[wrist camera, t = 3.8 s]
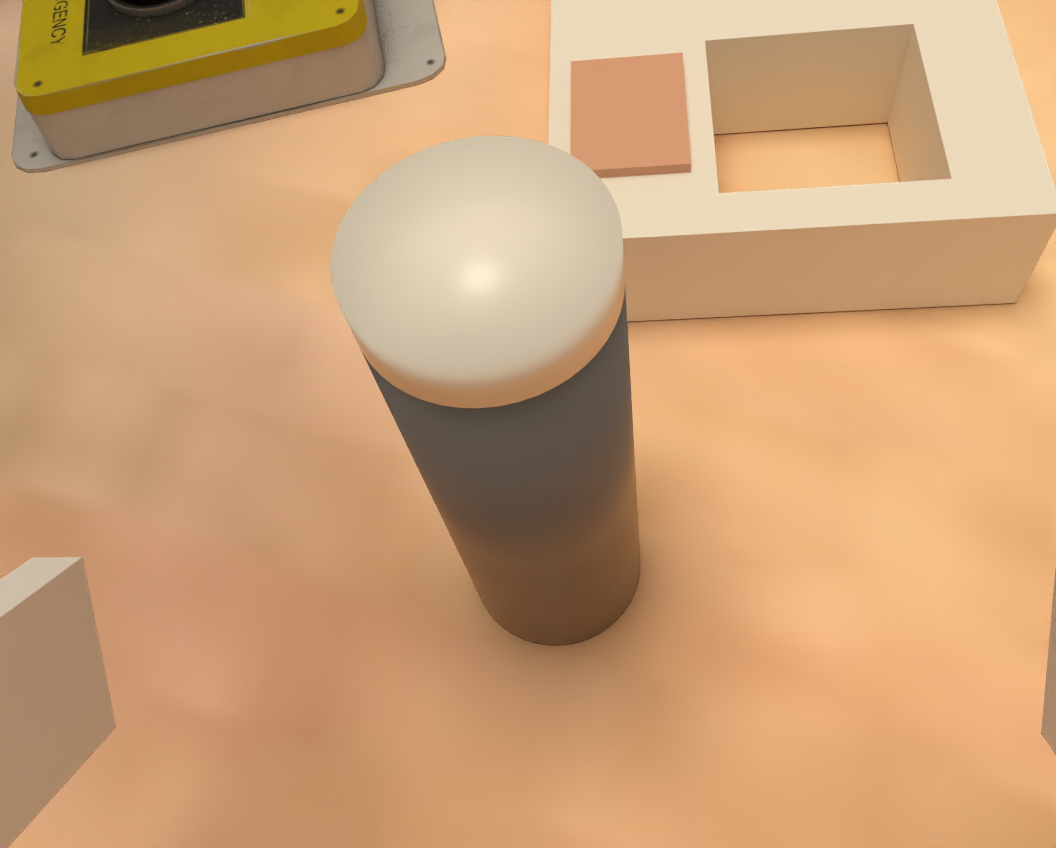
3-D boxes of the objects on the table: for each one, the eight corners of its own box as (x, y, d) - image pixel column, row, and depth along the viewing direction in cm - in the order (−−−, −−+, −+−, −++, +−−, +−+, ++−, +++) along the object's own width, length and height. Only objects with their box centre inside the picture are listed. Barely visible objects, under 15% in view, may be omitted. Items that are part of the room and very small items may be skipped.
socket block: (559, 324, 27) (545, 234, 24) (563, -47, 35) (553, -153, 32) (1015, 302, 26) (1068, 204, 22) (914, -79, 33) (941, -194, 30)
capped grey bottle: (470, 646, 23) (312, 375, 13) (479, 491, 25) (347, 145, 14) (643, 644, 22) (626, 362, 12) (637, 487, 24) (619, 126, 14)
